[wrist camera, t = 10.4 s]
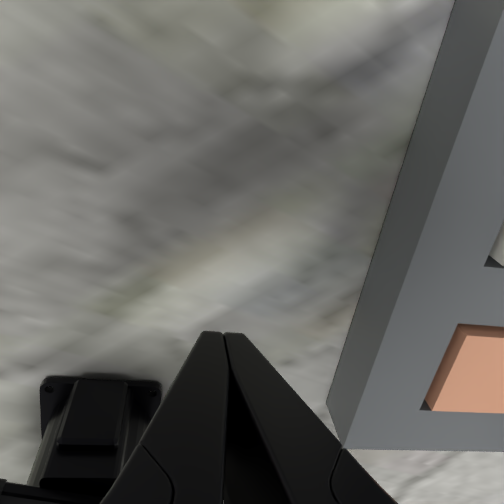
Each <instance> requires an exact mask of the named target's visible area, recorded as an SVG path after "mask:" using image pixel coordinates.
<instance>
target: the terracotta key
mask: <svg viewBox="0 0 504 504" xmlns="http://www.w3.org/2000/svg"><path fill="white" fill-rule="evenodd" d="M425 401H426V402H427V404H428V405H429V407H430V409H431V410H432V411H448V412H476V413H504V327H499V326H486V325H473V324H460V323H458V325H457V327H456V329H455V331H454V334H453V336H452V338H451V340H450V343H449V345H448V347H447V349H446V352H445V354H444V356H443V358H442V360H441V363H440V365H439V367H438V369H437V372H436V374H435V376H434V378H433V381H432V383H431V385H430V387H429V390H428V392H427V394H426V396H425Z"/></svg>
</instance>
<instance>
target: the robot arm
mask: <svg viewBox="0 0 504 504" xmlns="http://www.w3.org/2000/svg"><path fill="white" fill-rule="evenodd" d="M48 386H51V387H53V388H49V387H48ZM151 390H154V391H155V392H151ZM161 392H162V387H161V385H160V384H159V383H156V382H144V381H121V380H98V379H75V378H52V377H51V378H46V379H44V380H43V381H42V384H41V386H40V408H41V431H42V442H41V445H40V447H39V450H38V453H37V456H36V459H35V462H34V464H33V467H32V470H31V473H30V476H29V478H28V481H27V484H26V485H23V484H16V483H10V482H6V481H7V480H6V479H0V504H223V500H224V504H398V503H397V502H396V501H395V500H394V499H393V498H392V497H391V496H390V495H389V494H388V493H387V492H386V491H385V490H384V489H383V488H382V487H381V486H380V485H379V484H378V483H377V482H376V481H375V480H374V479H373V478H372V477H371V476H370V475H369V474H368V473H367V471H366V470H365V469H364V468H363V467H362V466H361V465H360V464H359V463H358V462H357V461H356V459H355V458H354V457H353V456H352V455H351V454H350V453H349V452H348V450H347V449H346V448H343V445H342V444H341V443H340V442H339V441H338V439H337V438H336V437H335V436H334V435H333V434H332V433H331V431H330V430H329V429H328V428H327V427H326V426H325V425H324V424H323V422H322V421H321V420H320V419H319V418H318V417H317V416H316V415H315V413H314V412H313V411H312V410H311V409H310V408H309V407H308V406H307V404H306V403H305V402H304V401H303V400H302V399H301V398H300V396H299V395H298V394H297V393H296V392H295V391H294V390H293V389H292V387H291V386H290V385H289V384H288V383H287V382H286V381H285V380H284V378H283V377H282V376H281V375H280V374H279V373H278V372H277V371H276V369H275V368H274V367H273V366H272V365H271V364H270V363H269V361H268V360H267V359H266V358H265V357H264V356H263V355H262V354H261V352H260V351H259V350H258V349H257V348H256V347H255V346H254V345H253V343H252V342H251V341H250V340H249V339H248V338H247V337H246V336H245V335H244V334H243V333H231V332H225V333H224V334H222V333H221V332H215V331H203V332H202V333H201V334H200V336H199V338H198V339H197V341H196V343H195V345H194V346H193V348H192V350H191V352H190V353H189V355H188V357H187V359H186V360H185V362H184V364H183V366H182V367H181V369H180V371H179V373H178V374H177V376H176V378H175V380H174V381H173V383H172V385H171V387H170V388H169V390H168V392H167V394H166V395H165V397H164V399H163V401H162V402H161ZM160 402H161V404H160ZM342 448H343V449H342Z"/></svg>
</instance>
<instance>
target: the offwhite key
mask: <svg viewBox="0 0 504 504" xmlns="http://www.w3.org/2000/svg"><path fill="white" fill-rule="evenodd" d="M489 256H491V257H492V258H493V259H495V260H496V261H497V262H498V263H500V264H501V265H502V266H504V222H503V224H502V226H501V228H500V231H499V233H498V235H497V237H496V239H495V242H494V244H493V246H492V248H491V251H490V253H489Z"/></svg>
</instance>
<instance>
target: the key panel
mask: <svg viewBox="0 0 504 504" xmlns="http://www.w3.org/2000/svg"><path fill="white" fill-rule="evenodd" d="M503 222H504V0H456V1H455V4H454V7H453V10H452V13H451V16H450V19H449V23H448V26H447V29H446V32H445V35H444V38H443V41H442V44H441V47H440V50H439V54H438V57H437V60H436V63H435V66H434V69H433V72H432V75H431V78H430V81H429V85H428V88H427V91H426V94H425V97H424V100H423V103H422V106H421V109H420V112H419V116H418V119H417V122H416V125H415V128H414V131H413V134H412V137H411V140H410V144H409V147H408V150H407V153H406V156H405V159H404V162H403V165H402V168H401V171H400V175H399V178H398V181H397V184H396V187H395V190H394V193H393V196H392V199H391V202H390V206H389V209H388V212H387V215H386V218H385V221H384V224H383V227H382V230H381V233H380V237H379V240H378V243H377V246H376V249H375V252H374V255H373V258H372V261H371V265H370V268H369V271H368V274H367V277H366V280H365V283H364V286H363V289H362V292H361V296H360V299H359V302H358V305H357V308H356V311H355V314H354V317H353V320H352V323H351V327H350V330H349V333H348V336H347V339H346V342H345V345H344V348H343V351H342V354H341V358H340V361H339V364H338V367H337V370H336V373H335V376H334V379H333V382H332V386H331V389H330V392H329V395H328V398H327V401H326V404H327V406H328V409H329V412H330V415H331V418H332V420H333V423H334V426H335V429H336V432H337V434H338V437H339V440H340V443H341V444H342V445H343V448H346V449H374V450H431V451H487V452H504V413H476V412H448V411H432V410H431V409H430V407H429V405H428V404H427V402H426V401H425V396H426V394H427V392H428V390H429V387H430V385H431V383H432V381H433V378H434V376H435V374H436V372H437V369H438V367H439V365H440V363H441V360H442V358H443V356H444V354H445V352H446V349H447V347H448V345H449V343H450V340H451V338H452V336H453V334H454V331H455V329H456V327H457V325H458V323H460V324H473V325H486V326H499V327H504V266H502V265H501V264H500V263H498V262H497V261H496V260H495V259H493V258H492V257H491V256H489V253H490V251H491V248H492V246H493V244H494V242H495V239H496V237H497V235H498V233H499V231H500V228H501V226H502V224H503Z"/></svg>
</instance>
